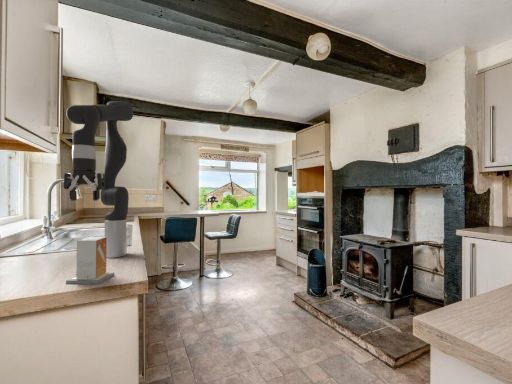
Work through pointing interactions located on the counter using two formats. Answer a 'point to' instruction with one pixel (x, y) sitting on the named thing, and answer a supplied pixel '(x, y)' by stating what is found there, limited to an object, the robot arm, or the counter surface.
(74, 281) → the board
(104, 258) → the small box
